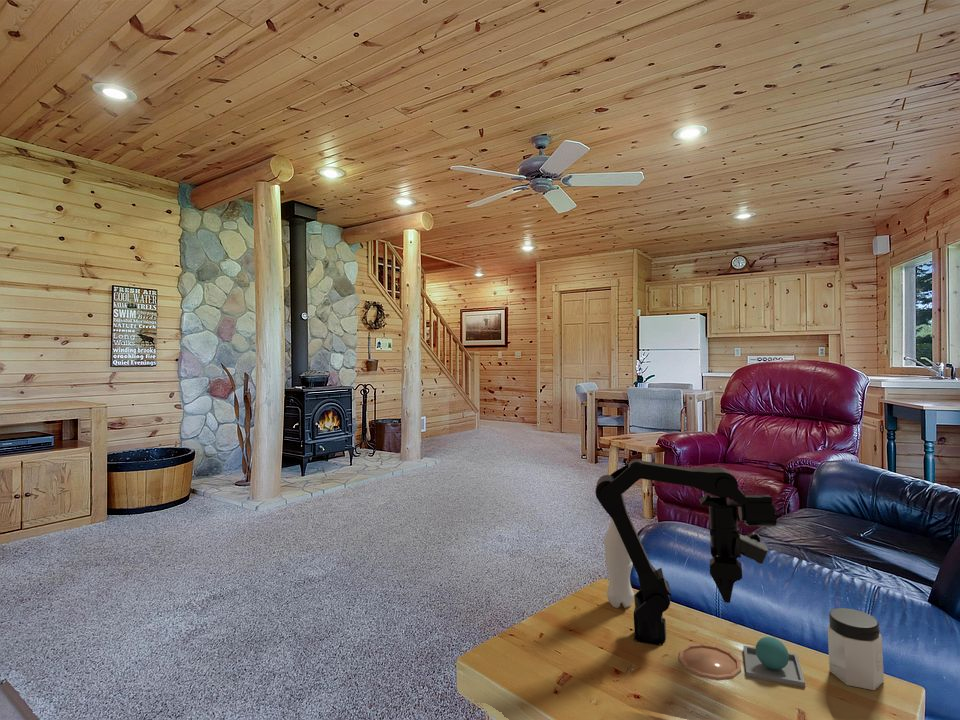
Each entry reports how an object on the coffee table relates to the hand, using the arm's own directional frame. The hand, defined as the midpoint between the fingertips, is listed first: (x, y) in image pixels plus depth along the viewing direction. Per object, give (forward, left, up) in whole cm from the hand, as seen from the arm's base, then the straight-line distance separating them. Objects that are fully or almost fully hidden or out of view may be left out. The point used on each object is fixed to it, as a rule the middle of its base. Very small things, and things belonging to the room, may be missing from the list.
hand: (726, 593), depth 116 cm
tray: (+8, -7, -12) cm, 16 cm away
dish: (-4, -9, -12) cm, 15 cm away
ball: (+8, -7, -11) cm, 15 cm away
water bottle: (-26, +12, -12) cm, 31 cm away
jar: (+23, -4, -12) cm, 26 cm away
